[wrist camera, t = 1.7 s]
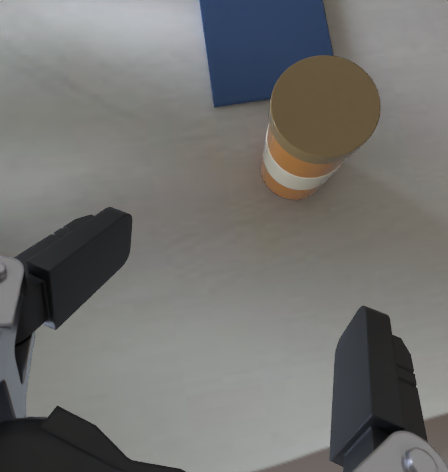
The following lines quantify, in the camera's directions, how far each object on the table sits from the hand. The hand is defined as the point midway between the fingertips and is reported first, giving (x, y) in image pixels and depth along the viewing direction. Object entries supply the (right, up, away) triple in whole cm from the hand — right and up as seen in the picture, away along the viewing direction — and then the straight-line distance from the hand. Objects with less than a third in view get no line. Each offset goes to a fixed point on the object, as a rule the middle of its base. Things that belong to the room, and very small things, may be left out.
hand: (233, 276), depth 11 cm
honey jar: (+6, +7, +17) cm, 19 cm away
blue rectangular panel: (+3, +23, +19) cm, 30 cm away
